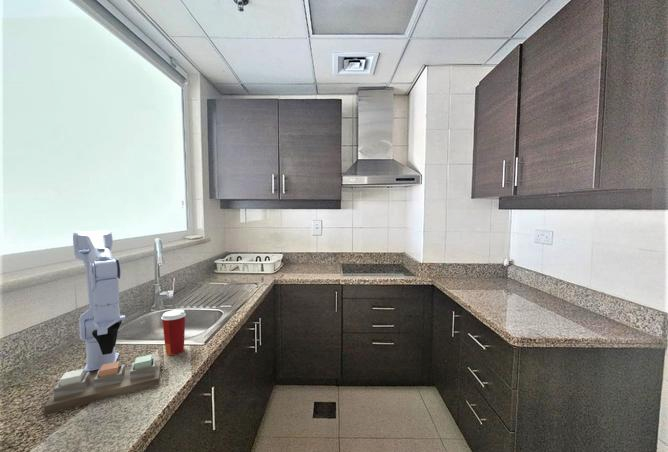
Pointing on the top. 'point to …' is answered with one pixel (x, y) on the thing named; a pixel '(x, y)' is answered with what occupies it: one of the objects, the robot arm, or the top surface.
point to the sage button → (143, 362)
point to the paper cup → (174, 331)
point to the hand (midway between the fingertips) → (108, 350)
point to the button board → (103, 386)
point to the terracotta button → (109, 369)
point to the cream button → (72, 377)
